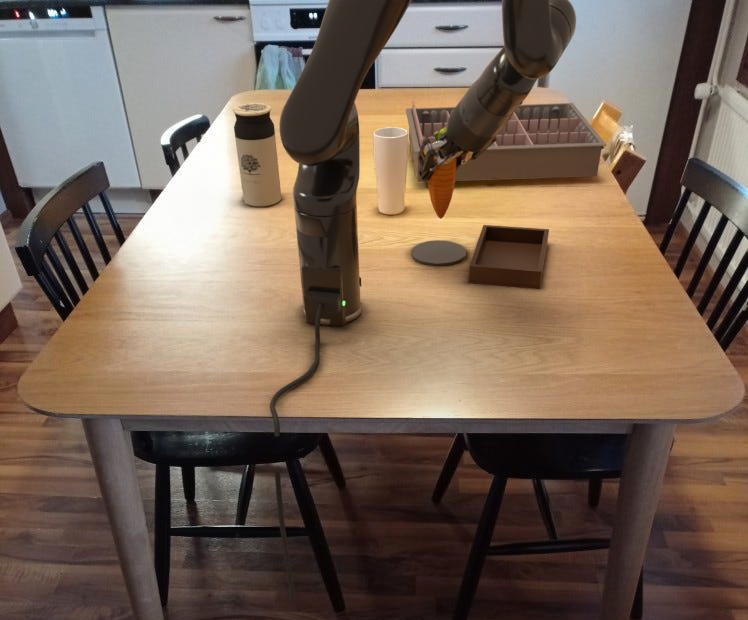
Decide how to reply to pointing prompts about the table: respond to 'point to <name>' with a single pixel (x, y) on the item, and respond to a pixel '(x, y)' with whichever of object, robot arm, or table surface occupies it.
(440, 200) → the carrot
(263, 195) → the travel mug
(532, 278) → the tray
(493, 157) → the organizer tray
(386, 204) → the drinking glass
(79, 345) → the table surface
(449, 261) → the metal coaster
